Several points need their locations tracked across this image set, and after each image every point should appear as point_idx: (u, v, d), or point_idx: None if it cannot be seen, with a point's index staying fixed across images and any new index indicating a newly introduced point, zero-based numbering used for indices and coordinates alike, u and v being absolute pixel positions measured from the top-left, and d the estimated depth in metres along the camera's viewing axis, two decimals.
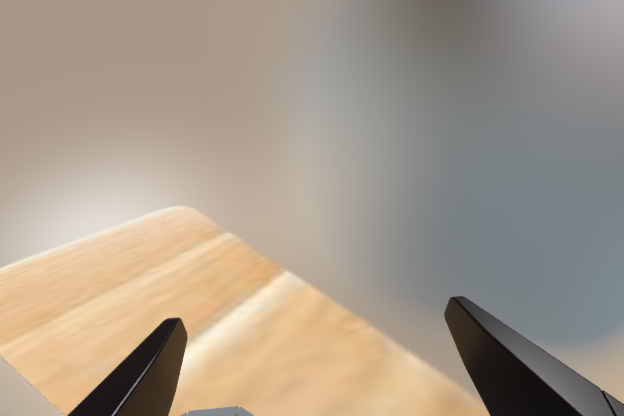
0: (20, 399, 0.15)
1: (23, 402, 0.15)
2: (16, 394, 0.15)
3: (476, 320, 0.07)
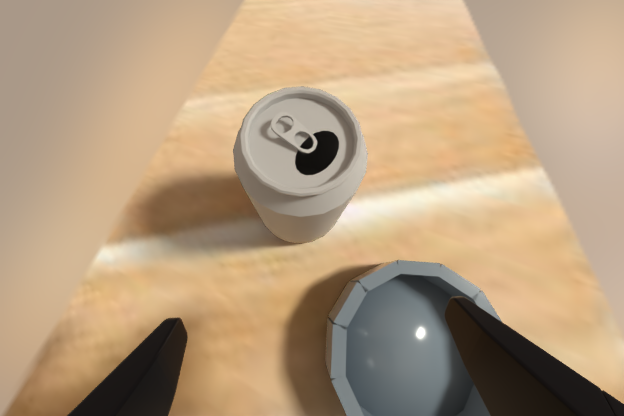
0: None
1: None
2: None
3: (476, 320, 0.07)
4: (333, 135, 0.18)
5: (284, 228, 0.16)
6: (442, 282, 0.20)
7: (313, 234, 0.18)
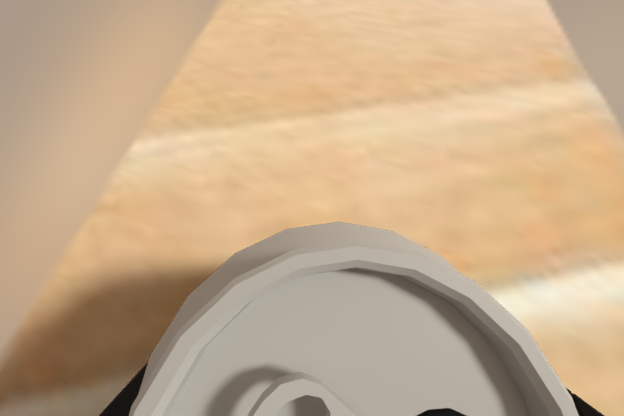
0: None
1: None
2: None
3: None
4: None
5: None
6: None
7: None
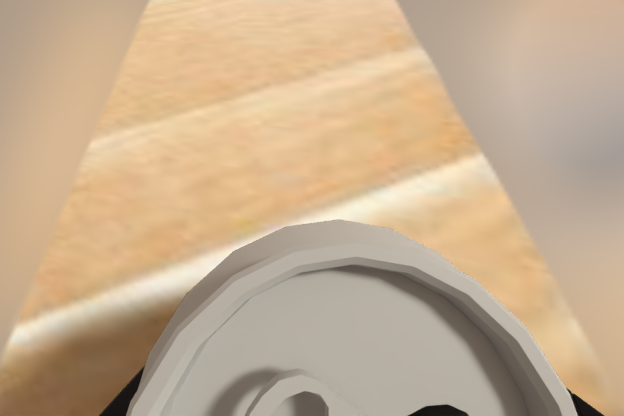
0: None
1: None
2: None
3: None
4: None
5: None
6: None
7: None
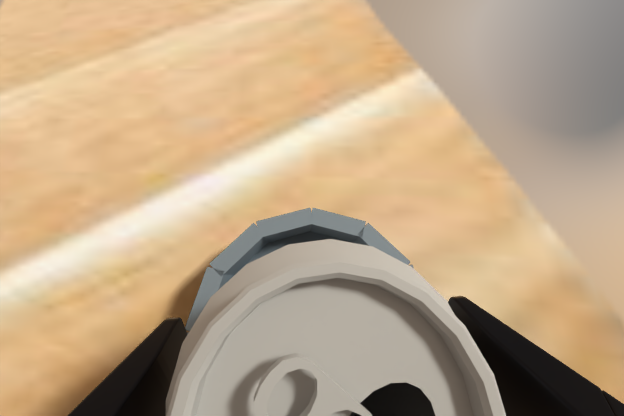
0: None
1: None
2: None
3: (476, 320, 0.07)
4: None
5: None
6: (323, 229, 0.16)
7: None
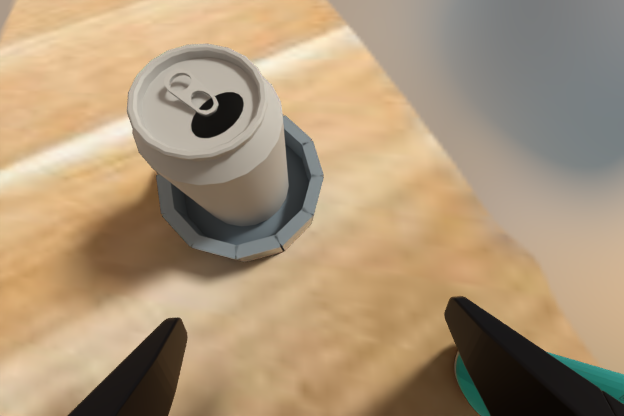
0: (284, 161, 0.16)
1: (284, 164, 0.17)
2: (284, 157, 0.16)
3: (476, 320, 0.07)
4: None
5: (205, 204, 0.15)
6: None
7: (245, 214, 0.17)
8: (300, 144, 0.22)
